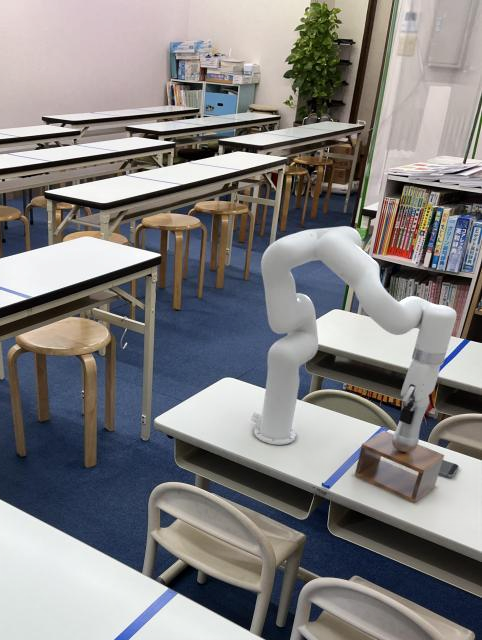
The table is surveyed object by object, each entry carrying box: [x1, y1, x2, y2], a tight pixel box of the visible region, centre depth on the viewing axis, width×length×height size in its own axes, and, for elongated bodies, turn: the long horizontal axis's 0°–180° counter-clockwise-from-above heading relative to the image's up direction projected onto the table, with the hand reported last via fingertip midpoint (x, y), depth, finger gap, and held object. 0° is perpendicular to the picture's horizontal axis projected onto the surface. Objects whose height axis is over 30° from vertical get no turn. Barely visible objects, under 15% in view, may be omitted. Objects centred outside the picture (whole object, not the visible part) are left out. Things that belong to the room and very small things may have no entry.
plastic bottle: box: [392, 395, 430, 452], centre depth 183 cm, size 6×7×20 cm
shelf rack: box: [354, 430, 445, 504], centre depth 191 cm, size 18×12×10 cm, turn 44°
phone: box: [438, 459, 459, 479], centre depth 202 cm, size 8×1×16 cm
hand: (411, 417), depth 184 cm, fingers closed on plastic bottle, 6 cm apart
